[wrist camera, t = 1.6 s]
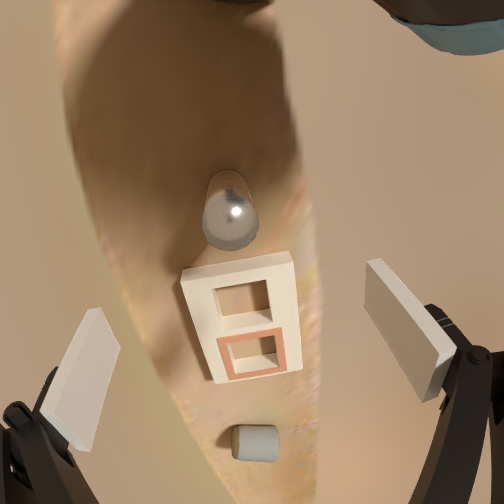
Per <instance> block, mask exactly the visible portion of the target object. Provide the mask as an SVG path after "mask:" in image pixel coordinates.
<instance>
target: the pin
mask: <svg viewBox="0 0 504 504" xmlns="http://www.w3.org/2000/svg"><path fill="white" fill-rule="evenodd" d="M258 227H259V222H258V216H257V213H256V210H255V207H254V204H253V201H252V198H251V195H250V192H249V189H248V186H247V183H246V180H245V179H244V177H243V176H242V175H240V174H239V173H237V172H235V171H231V170H225V171H221V172H219V173H217V174H215V175H214V176H213V177H212V178H211V180H210V182H209V185H208V189H207V195H206V201H205V207H204V212H203V218H202V231H203V234H204V236H205V238H206V239H207V241H208V242H209V243H210V244H211V245H213V246H214V247H216V248H218V249H221V250H225V251H235V250H239V249H242V248H244V247H246V246H247V245H248V244H250V243H251V242H252V241H253V239H254V238H255V236H256V234H257V231H258Z"/></svg>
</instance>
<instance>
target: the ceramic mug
mask: <svg viewBox="0 0 504 504" xmlns="http://www.w3.org/2000/svg"><path fill="white" fill-rule="evenodd" d="M278 453H279V432H278V429H277V427H276V426H249V425H242V426H236V427H235V428H234V430H233V435H232V456H233V458H235V459H238V460H242V461H257V462H275V461H276V459H277V456H278Z"/></svg>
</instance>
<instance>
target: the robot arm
mask: <svg viewBox="0 0 504 504" xmlns="http://www.w3.org/2000/svg"><path fill="white" fill-rule="evenodd" d="M215 1H220V2H226V3H251V2H258V1H263V0H215ZM373 1H374V2H376V3H377V4H378V5H379V6H381V7H382V8H383V9H385V10H386V11H387V12H388V13H389V14H390V15H391V17H392V18H393V19H394V20H395V21H397V22H398V23H400V24H402V25H404V26H407V27H408V28H409V29H410V30H412V31H413V32H414V33H415V34H416V35H418V36H419V37H420V38H421V39H422V40H423V41H425V42H426V43H427V44H429V45H430V46H432V47H433V48H435V49H437V50H439V51H443V52H449V53H452V54H454V55H463V56H469V55H470V56H471V55H482V54H488V53H492V52H496V51H499V50H502V49H504V0H373ZM364 307H365V309H366V310H367V312H368V314H369V315H370V317H371V318H372V320H373V322H374V323H375V325H376V326H377V328H378V330H379V331H380V333H381V334H382V336H383V338H384V339H385V341H386V342H387V344H388V346H389V347H390V349H391V351H392V352H393V354H394V355H395V357H396V359H397V361H398V362H399V364H400V366H401V367H402V369H403V371H404V373H405V374H406V376H407V378H408V379H409V381H410V383H411V384H412V386H413V388H414V390H415V392H416V393H417V395H418V397H419V398H420V400H421V402H422V403H423V402H426V401H428V400H430V399H433V398H435V397H438V395H439V393H440V390H441V388H443V389H444V391H445V393H446V396H445V398H444V400H443V402H442V404H441V406H440V408H439V409H440V410H441V413H440V417H439V420H438V424H437V427H436V431H435V434H434V437H433V440H432V443H431V447H430V450H429V453H428V456H427V458H426V461H425V464H424V467H423V469H422V472H421V475H420V477H419V480H418V482H417V485H416V487H415V490H414V492H413V495H412V497H411V499H410V501H409V503H408V504H468V501H469V498H470V495H471V492H472V488H473V485H474V481H475V477H476V474H477V470H478V465H479V461H480V457H481V452H482V447H483V442H484V437H485V431H486V425H487V419H488V417H489V427H490V440H491V467H492V483H491V504H504V351H501V352H494V353H490V351H489V350H487V349H486V348H484V347H482V346H477V345H472V344H471V343H470V342H469V341H468V340H467V338H466V337H465V336H464V335H463V333H462V332H461V331H460V330H459V329H458V328H457V326H456V325H455V324H453V322H452V321H451V320H450V319H449V318H448V316H447V315H446V314H445V313H444V312H443V311H442V309H440V308H438V307H437V306H435V305H433V304H429V305H426V306H423V305H422V304H421V303H420V302H419V301H418V299H417V298H416V297H415V296H414V295H413V294H412V293H411V291H410V290H409V289H408V288H407V287H406V286H405V285H404V283H403V282H402V281H401V280H400V279H399V278H398V277H397V276H396V275H395V274H394V272H393V271H392V270H391V269H390V268H389V267H388V266H387V265H386V264H385V263H384V262H383V260H381V258H378V259H374V260H369V261H366V284H365V304H364ZM120 349H121V348H120V346H119V344H118V342H117V340H116V338H115V336H114V334H113V332H112V330H111V328H110V326H109V324H108V322H107V320H106V318H105V316H104V314H103V311H102V309H101V308H93V309H88V311H87V313H86V314H85V316H84V318H83V320H82V322H81V324H80V326H79V327H78V330H77V331H76V333H75V335H74V337H73V339H72V341H71V343H70V345H69V347H68V349H67V351H66V353H65V356H64V357H63V360H62V361H61V364H60V366H59V367H55V368H54V369H53V370H52V372H51V373H50V374H49V376H48V377H47V379H46V382H45V385H44V386H43V388H42V391H41V393H40V395H39V397H38V399H37V402H36V404H35V406H34V409H33V411H32V412H31V411H30V409H29V408H28V407H27V406H26V405H25V404H24V403H23V402H21V401H16V402H13V403H11V404H10V405H9V406H8V407H7V408H6V409H5V411H4V414H3V420H4V422H5V423H6V424H7V425H8V426H9V427H10V428H8V429H5V428H4V427H3V426H2V425H1V424H0V504H99V502H98V501H97V499H96V497H95V496H94V494H93V493H92V491H91V489H90V487H89V486H88V484H87V482H86V481H85V479H84V477H83V475H82V473H81V471H80V470H79V468H78V466H77V464H76V462H75V460H74V458H73V456H72V454H71V453H70V451H69V450H68V449H67V448H68V445H69V443H70V444H71V445H72V446H73V447H74V448H75V449H76V450H80V451H88V452H91V449H92V445H93V441H94V437H95V433H96V429H97V426H98V422H99V418H100V414H101V411H102V407H103V403H104V400H105V397H106V393H107V390H108V387H109V383H110V380H111V377H112V374H113V370H114V367H115V364H116V361H117V358H118V355H119V352H120ZM10 465H11V466H12V467H13V472H11V468H10Z"/></svg>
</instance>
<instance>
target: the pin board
mask: <svg viewBox="0 0 504 504" xmlns="http://www.w3.org/2000/svg"><path fill="white" fill-rule="evenodd" d="M260 280H265V281H266V288H267V294H268V300H269V307H270V308H269V309H264V310H258V311H253V312H247V313H241V314H235V315H229V316H223V317H222V313H221V309H220V306H219V302H218V298H217V294H216V290H215V288H221V287H226V286H232V285H238V284H243V283H249V282H255V281H260ZM180 283H181V286H182V289H183V293H184V296H185V299H186V302H187V305H188V308H189V311H190V314H191V317H192V320H193V323H194V326H195V329H196V332H197V335H198V338H199V341H200V344H201V346H202V349H203V352H204V355H205V358H206V360H207V363H208V366H209V369H210V371H211V374H212V377H213V379H214V382H215V384H219V383H226V382H233V381H240V380H247V379H253V378H259V377H265V376H270V375H276V374H281V373H286V372H291V371H296V370H301V369H303V364H302V351H301V338H300V327H299V315H298V304H297V294H296V283H295V273H294V264H293V260H292V258H291V256H290V253H289V251H283V252H278V253H272V254H267V255H261V256H256V257H250V258H244V259H239V260H233V261H228V262H222V263H216V264H211V265H205V266H199V267H194V268H188V269H183V271H182V276H181V281H180ZM272 335H274V339H275V346H276V353H270V354H265V355H259V356H253V357H247V358H241V359H235V360H234V357H233V353H232V350H231V346H230V343H231V342H237V341H243V340H249V339H255V338H261V337H266V336H272Z"/></svg>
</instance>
